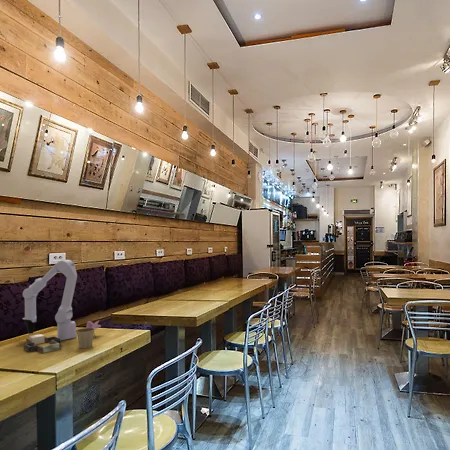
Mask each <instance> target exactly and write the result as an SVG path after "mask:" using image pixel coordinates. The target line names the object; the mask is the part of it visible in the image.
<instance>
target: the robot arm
mask: <svg viewBox="0 0 450 450" xmlns="http://www.w3.org/2000/svg"><path fill="white" fill-rule="evenodd" d="M58 273H61V274H63V275H64V277H66V278H65V279H66V280H65V285H64V289H63V294H62V299H61V303H60V306H59V307H58V309H57V310H58V311H57V312H56V314H55V315H54V320H55V321H56V324H57V329H56V330H57V336H56V337H58V338H60V341H65V340H69V339H75V338H78V336H77V332H76V330H77V324H76V322H75V321H74V320H71V319H72V318H73V307H72V303H73V297H74V293H75V289H76V284H77V279H78V273H77V270H76V264H75V263H74V262H73V261H72V259H64V260H58V262H56V263H55V264H54V265H53V266H52V267H51V268H50V269H49V270H48V271H47V272H46V273H45V274H44V275H43V277H39V278H35V280H34V282H33V283H32V284H30V285H29V286H28V288H25V289H24V290H23V291H22V297H23V298H24V317H22V320H24V324H25V326H26V330H27V333H28V335H31V334H34V330H35V326H36V325H37V322H38V321H37V317H38V316H37V297H38V295H39V293H40V292H41V291H42V290H43V289H44V288H45V287H46V286H47V282H48V281H50V280H51V279H52V278H53V277H54V276H55V275H57V274H58ZM25 320H26V321H25Z"/></svg>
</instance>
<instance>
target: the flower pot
mask: <svg viewBox="0 0 450 450" xmlns="http://www.w3.org/2000/svg"><path fill="white" fill-rule="evenodd" d="M95 330H96V329H95V328H87V327H84V328H83V327H82V328H77V329H76V336H77V340H78V347H79V348H80V349H82V348H83V349H88V348H91V347H92V346H93V342H94V341H93V340H94V334H95Z"/></svg>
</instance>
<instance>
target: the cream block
mask: <svg viewBox="0 0 450 450" xmlns="http://www.w3.org/2000/svg"><path fill="white" fill-rule="evenodd" d="M44 336H45V335H44V334H41V333H40V334H33V335H29V336H28V339H29V340H31V341H32V342H34V346H35V345H40V344H45V342H44Z"/></svg>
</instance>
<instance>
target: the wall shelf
mask: <svg viewBox="0 0 450 450" xmlns="http://www.w3.org/2000/svg"><path fill="white" fill-rule="evenodd" d="M44 343H47V344H48V345H47V344H46V345H43V346H41V345H40V344H36V345H34V342H32V341H31V340H29V338H26V339H25V343H24V344H23V349H24V350H25V351H26V352H27V353H30V352H38V353H39V352H40V353H41V354H44V353H49V352H53V351H58V350H61V349H62V344H61V340H60V338H58V336H55V335H54V336H49V337H48V336H45V335H44Z"/></svg>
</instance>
